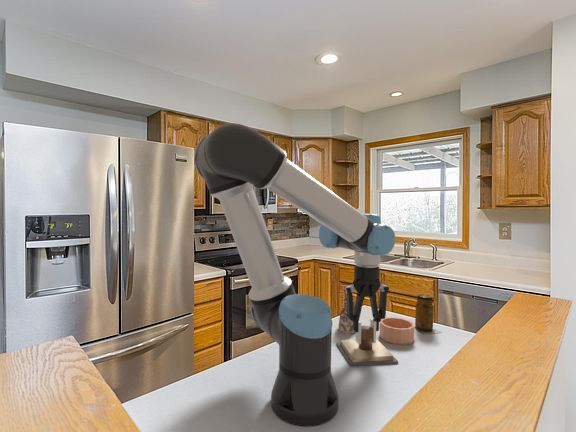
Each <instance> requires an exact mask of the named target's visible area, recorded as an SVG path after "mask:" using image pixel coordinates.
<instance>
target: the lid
mask: <svg viewBox="0 0 576 432" xmlns="http://www.w3.org/2000/svg"><path fill="white" fill-rule="evenodd" d="M372 340H373V328H372V327H370V326H369V325H361V344H358V343H357V342H356V339H340V342H339V343H340V344H341V346H342V347H343V348H344V350H345V351H346V353H347V354H348V356H349V357H350V359H351V360H352V361H353V362H366V361H382V360H393V357H394V355H393V354H392V353H391V352H390V351H389V350H388V348H386V347H385V346H384V345H383V343H381V342H380V340H379V339H378V338H376V343H373V342H372Z"/></svg>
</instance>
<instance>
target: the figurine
mask: <svg viewBox="0 0 576 432" xmlns="http://www.w3.org/2000/svg"><path fill="white" fill-rule="evenodd" d="M355 303H356V299H354V298H353V313H354V308H355ZM343 305H344V306H343V308H342V309H341V310H340V312H339V319H338V330H339V331H340V332H341V333H345V334H356V332H354V331H353V320H350V319H349V318H348V317H347V302H346V297H345V298H344V300H343Z"/></svg>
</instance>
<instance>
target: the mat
mask: <svg viewBox="0 0 576 432" xmlns="http://www.w3.org/2000/svg"><path fill="white" fill-rule="evenodd" d="M336 346H337V347H338V349H339V351H340V352H341V354H342V356H343V357H344V358H345V360H346V361H347V362H348V364H349V366H350V367H362V366H377V365H396V364H399V360H397V358H395V357H394V356H393V360H382V361H366V362H353V361H352V360H351V359H350V357H349V356H348V354H347V353H346V351H345V350H344V348H343V347H342V346H341V344H340V342H336Z"/></svg>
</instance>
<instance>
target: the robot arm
mask: <svg viewBox="0 0 576 432" xmlns="http://www.w3.org/2000/svg"><path fill="white" fill-rule="evenodd" d="M287 157H288V156H287V153H286V150H285V149H283V148H281V146H279V145H277V144H276V143H275V142H273V141H272V140H270V139H269V138H267V137H266V136H265V135H263V134H262V133H260V132H259V131H257V130H255V129H253V128H252V127H250V126H247V125H244V124H241V123H237V122H236V123H235V122H231V123H224V124H222V125H219V126H217V127H216V128H214V129H213V130H212V131H211V133H209V134H207V135H205V136H204V137H203V138H202V139H201V140H200V142H198V144H197V146H196V149H195V151H194V157H193V158H194V159H193V160H194V162H193V163H194V166H195V169H196V172H197V173H198V174H199V176H200V177H201V178H202V179H203V180H204V181H205V184H206V187H207V189H208V192H209V194H210V196H211V197H213V198H215V199H218V201H219V202H220V206H221V208H222V211H223V214H224V216H225V219H226V221H227V224H228V226H229V229H230V232H231V235H232V238H233V240H234V243H235V246H236V249H237V251H238V253H239V256H240V259H241V262H242V264H243V268H244V269H245V272H246V276H247V278H248V281H249V283H250V286H251V288H250V290H249V292H248V298H249V300H250V314H251V317H252V319H253V321H254V323H255V324H256V325H257V327H258V328H259V330H261V331H263V332H265V334H266V335H268V336H269V337H270V338H271V339H272V340H273V341H274V342H276V344H278V347H279V348H278V349H279V350H278V356H279V357H278V363H279V364H278V365H279V366H278V371H277V374H276V378H275V380H274V382H273V383H274V384H273V385H272V390H271V394H270V405H271V406H270V407H271V410H272V412H273V413H274V414H275V415H276V416H277V417H278V418H279V419H281V420H282V421H285V422H286V423H288V424H292V425H297V426H302V427H303V426H305V427H307V426H309V427H310V426H317V425H321V424H324V423H327V422H328V421H330V420H331V419H333V418H334V417H335V416H336V414H337V413H338V410H339V393H338V391H337V386H336V383H335V381H334V380H335V379H334V378H333V377H334V376H333V374H332V334H333V333H332V330H333V329H332V328H333V319H332V309H331V307H330V305H329V303H327V301H325V300H324V299H322V298H321V297H318V296H315V295H310V294H307V293H306V294H305V293H296V290H295V288H294V287H295V286H294V285H293V282H292V279H291V278H290V277H288V276H286V275H284V274H283V270H282V269H281V265H280V262H279V259H278V256H277V254H276V250H275V247H274V245H273V242H272V239H271V237H270V236H271V235H270V233H269V231H268V227H267V224H266V222H265V218H264V216H263V213H262V211H261V208H260V204H259V202H258V199H257V196H256V193H255V191H254V188H255V187H256V188H257V189H258V190H264V189H265V190H266V189H267V190H269V191H270V192H272V193H274V194H275V195H277V196H278V197H280V198H281V199H283V200H284V201H286V202H287V203H289V204H290V205H292V206H294V207H295V208H297V209H298V210H299V211H300V212H303V213H304V214H306V216H307V215H308V216H309V217H311V218H312V219H313V220H315V221H316V222H318V223H319V224H320V226H319V230H318V238H319V242H320V244H321V245H322V247H324V248H327V249H330V248H331V249H337V248H341V249H345V250H350V251H354V260H353V261H354V264H355V265H354V266H353V268H354V269H353V281H352V284H350V285H345V286H344V287H343V288H344V291H345V294H346V295H345V296H346V297H345V298H346V302H347V317H348V318H349V319H350V320H353V331H354V332H355V340H356V342H357V343H358V344H361V326H362V322H361V320H360V318H361V313H362V308H363V304H364V301H365V298H366V297H368V298H369V303H370V309H371V314H372V318H370V320H369V325H370V327H372V328H373V340H372V342H373V343H376V339H377V332H380V321H381V319H385V318H387V316H386V315H387V314H386V313H387V297H388V293H389V291H390V287H389V286H387V285H386V284H382V283H381V281H380V277H381V267H380V265H381V256H385V255H388V254H389V253H391V252H392V250H393V249H394V248H395V244H396V234H395V231H394V229H393V228H392V227H391V226H389V225H387V224H383V223H381V216H380V215H379V214H376V213H363V212H360V211H359V210H357V209H356V208H355V207H354V206H352V205H351V204H349V203H348V202H347V201H345V200H344V199H342V198H341V197H339V195H337V194H336V193H334V192H333V191H332V190H330V189H329V188H328V187H326V186H325V185H324V184H322V183H321V182H319V181H318V180H316V179H315V178H314V177H313V176H311V175H310V174H309V173H307V172H306V171H305V170H303V169H302V168H300V167H299V166H298V165H296V164H295V163H294V162H292V161H291V160H289V159H288V158H287ZM354 290H355V291H356V295H355V296H356V298H355V308H354V313H353V299H354V295H353V293H354ZM378 291H379V296H377V292H378ZM377 297H379V299H378V301H377Z"/></svg>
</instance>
